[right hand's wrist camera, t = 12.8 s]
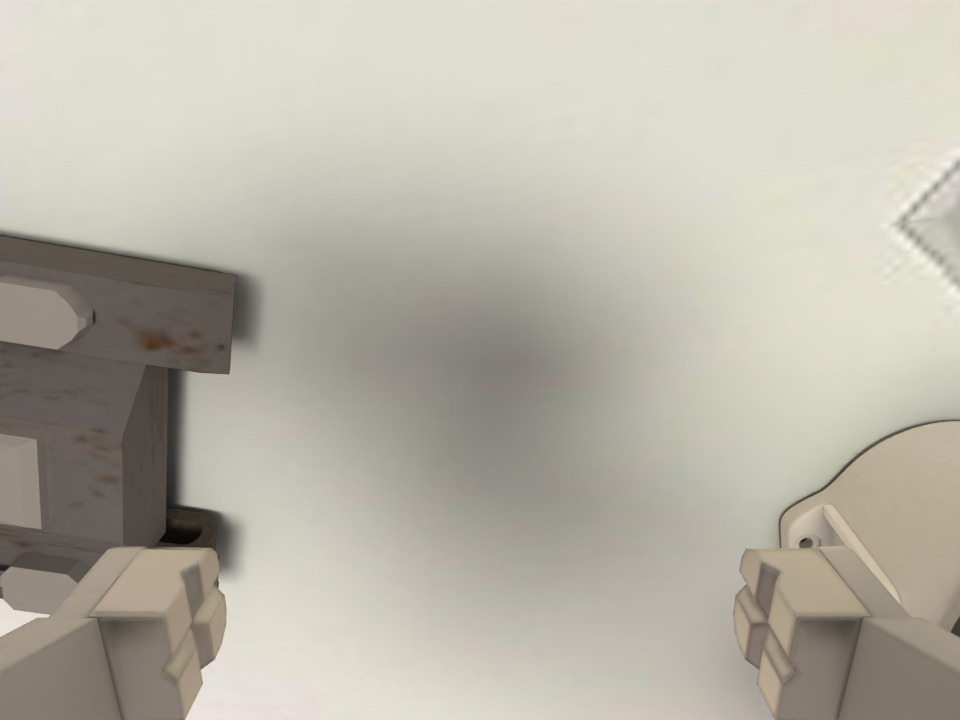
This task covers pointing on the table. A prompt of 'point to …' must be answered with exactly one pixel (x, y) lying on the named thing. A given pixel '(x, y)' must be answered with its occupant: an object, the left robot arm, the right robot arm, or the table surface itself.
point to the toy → (94, 407)
